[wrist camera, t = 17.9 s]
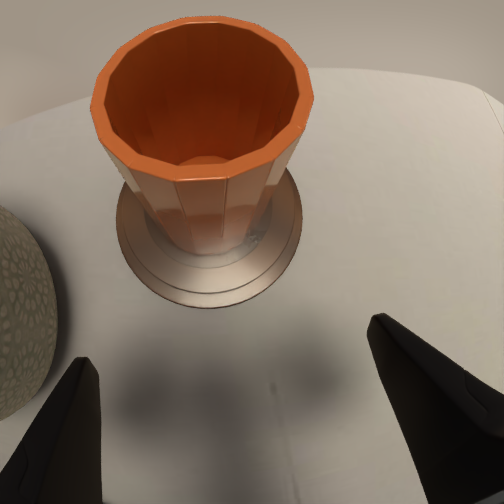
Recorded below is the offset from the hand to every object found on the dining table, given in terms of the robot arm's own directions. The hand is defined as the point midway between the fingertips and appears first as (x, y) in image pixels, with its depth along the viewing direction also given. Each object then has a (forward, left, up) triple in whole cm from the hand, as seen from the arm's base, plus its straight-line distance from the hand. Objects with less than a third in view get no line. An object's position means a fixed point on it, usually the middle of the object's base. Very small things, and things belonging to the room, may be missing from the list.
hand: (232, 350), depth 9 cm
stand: (+7, +4, -14) cm, 16 cm away
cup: (+7, +4, -11) cm, 14 cm away
